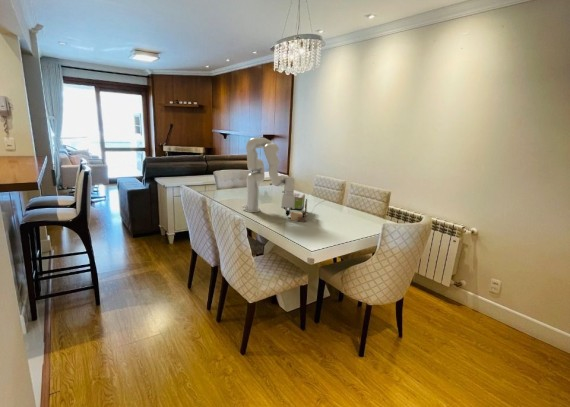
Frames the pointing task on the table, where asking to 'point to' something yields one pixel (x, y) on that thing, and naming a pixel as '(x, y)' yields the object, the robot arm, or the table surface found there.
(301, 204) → the tea box
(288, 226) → the table surface
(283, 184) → the robot arm
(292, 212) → the carton
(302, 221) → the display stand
